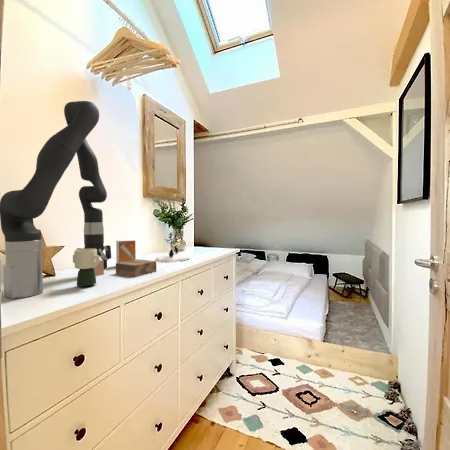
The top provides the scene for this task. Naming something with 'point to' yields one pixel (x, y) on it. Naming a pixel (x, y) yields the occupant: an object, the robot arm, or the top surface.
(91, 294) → the top surface
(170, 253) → the figurine
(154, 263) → the walnut block
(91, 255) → the character mug
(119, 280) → the top surface
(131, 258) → the small box
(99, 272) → the terracotta block
